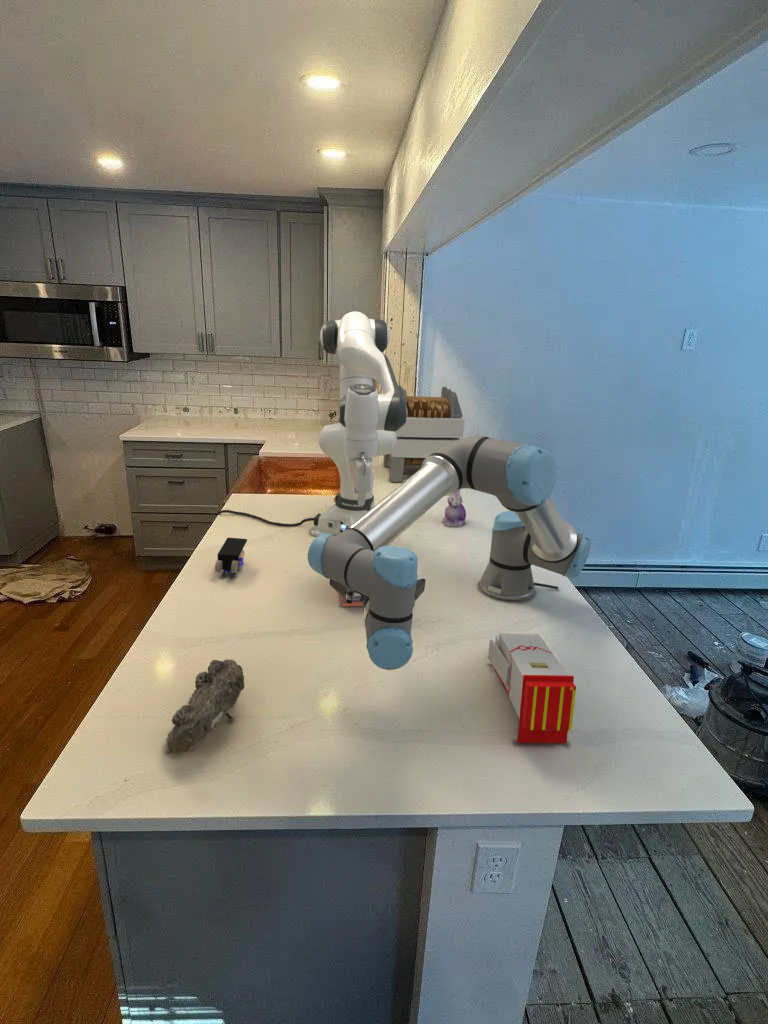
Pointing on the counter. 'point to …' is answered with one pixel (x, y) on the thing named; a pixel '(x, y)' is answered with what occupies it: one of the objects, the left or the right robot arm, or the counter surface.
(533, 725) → the toy
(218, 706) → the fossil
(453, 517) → the figurine
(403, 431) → the transformer
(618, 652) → the counter surface
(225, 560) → the black toy vehicle
